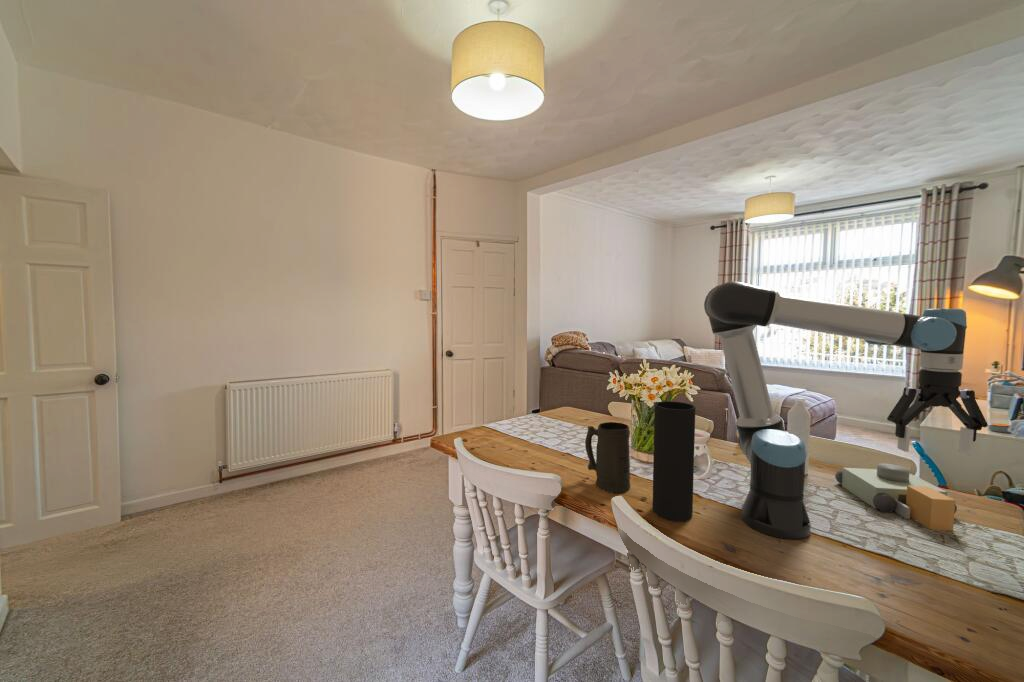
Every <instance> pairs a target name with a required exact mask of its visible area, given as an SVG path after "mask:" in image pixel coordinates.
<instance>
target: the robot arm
mask: <svg viewBox="0 0 1024 682" xmlns="http://www.w3.org/2000/svg"><path fill="white" fill-rule="evenodd" d="M703 307H704V311H705V314H706V316H707V317H708V320H709V323H710V327H711V331H712V334H713V335H714V336H716V337H718V338H719V340H720V344H721V347H722V351H723V356H724V358H725V359H724V360H725V363H726V367H727V371H728V375H729V379H730V382H731V383H730V384H731V387H732V391H733V395H734V399H735V402H736V403H735V404H736V406H737V410H738V413H739V417H738V418H737V419H736V421H735V424H736V425H735V426H736V429H737V434H738V445H739V448H740V450H741V452H742V454H744V456H745V457H746V459H747V461H748V462H749V464H750V479H749V481H750V483H749V491H748V493H747V496H746V497H745V499H744V502H743V504H742V507H741V513H740V514H741V515H740V516H741V519H742V521H743V522H744V523H745V524H746V525H747V526H749V527H750V528H752V529H754V530H755V531H758V532H760V533H763V534H765V535H768V536H772V537H775V538H780V539H788V540H800V539H801V540H802V539H806V538H807V537H809V536H810V534H811V527H812V526H811V525H812V524H811V521H810V517H809V514H808V511H807V508H806V505H805V502H804V490H805V460H806V451H805V444H804V442H803V441H802V440H801V439H800V438H799V437H797V436H796V435H794V434H790V433H788V432H787V431H785V427H784V424H783V420H782V417H781V415H778V414H776V413H775V412H774V409H773V406H772V402H771V397H770V394H769V390H768V387H767V386H768V385H767V383H766V382H767V381H766V379H765V374H764V370H763V366H762V363H761V359H760V355H759V351H758V347H757V344H756V340H755V336H754V330H755V328H756V327H757V326H759V327H768V326H770V325H777V326H784V327H789V328H793V329H800V330H807V331H812V332H818V333H823V334H830V335H835V336H841V337H847V338H854V339H859V340H863V341H865V343H867V344H869V345H877V346H895V347H900V348H902V347H903V348H908V349H909V348H910V349H915V350H920V355H919V364H918V366H919V367H920V370H919V371H918V380H917V382H918V384H919V386H918V388H915V387H914V388H913V387H909V386H905V387H903V392H902V395H901V397H900V398H899V400H898V401H897V403H896V404H895V406H894V407H893V408H892V410H891V412H890V413H889V414H888V416H887V418H886V419H887V421H888V422H891V423H894V424H895V430H894V431H895V433H894V434H895V437H897V446H896V447H897V449H899V450H900V451H902V452H906V453H909V451H910V438H911V426H908V424H910V422H912V421H913V420H914V419H915V418H916V417H918V416H919V415H920V414H921V413H922V412H923V411H925V410H926V409H928V408H930V407H936V408H937V407H943V408H949V410H950V411H951V412H952V413H953V415H954V416H956V418H957V419H958V420H959V421H960V423H962V425H963V426H960V430H959V441H958V452H959V453H962V454H964V455H965V456H972V455H973V444H974V443H973V442H976V440H977V431H981V430H982V428H987V427H988V425H989V424H988V422H987V420H986V418H985V416H984V415H983V412H982V410H981V408H980V406H979V404H978V402H977V400H976V394H975V392H976V391H975V390H973V389H969V388H961V389H960V387H961V386H962V380H963V379H962V378H963V373H962V372H961V370H963V364H964V352H965V341H966V332H967V331H966V330H967V328H968V325H967V323H968V322H967V312H966V311H965V310H964V309H962V308H925V310H923V313H922V315H917V314H910V313H902V312H897V311H892V310H891V311H890V310H885V309H877V308H871V307H865V306H858V305H851V304H846V303H845V304H844V303H838V302H831V301H827V300H826V301H825V300H818V299H813V298H806V297H798V296H791V295H786V294H780V293H779V292H778V291H777V290H776V289H773V288H767V287H762V286H757V285H753V284H749V283H746V282H742V281H726V282H724V283H721V284H718V285H716V286H715V287H713V288H711V290H709V291H708V293H707V295H706V296H705V299H704V304H703ZM916 397H917V398H916ZM958 398H960V400H961V402H962V403H963V406H964V408H963V407H962V404H961V403H960V401H958Z"/></svg>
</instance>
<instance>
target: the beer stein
mask: <svg viewBox="0 0 1024 682" xmlns="http://www.w3.org/2000/svg"><path fill="white" fill-rule="evenodd" d="M630 435H631V430H630V427H629V425H627V424H626V423H623V422H617V421H615V422H613V421H608V422H603V423H600V424H598V425H597V428H595V426H594V425H588V426H587V434H586V437H585V439H584V440H585V441H584V444H585V450H586V455H587V459H588V461H589V463H588V465H587V469H588V471H592V470H593V471H595V473H596V474H595V476H596V479H595V486H596V487H597V488H598V489H599V490H601V491H603V490H604V491H603V492H606V491H608V492H607V493H611V492H615V493H614V494H623V493H626V492H628V491H629V490H630V489H631V470H630V469H631V459H630V457H631V456H630V454H631V453H630ZM594 436H597V441H596V447H595V449H596V451H595V452H596V454H595V455H596V458H595V456H594V451H593V445H592V442H593V441H592V439H593V437H594ZM622 492H623V493H622Z"/></svg>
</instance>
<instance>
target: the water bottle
mask: <svg viewBox="0 0 1024 682" xmlns="http://www.w3.org/2000/svg"><path fill="white" fill-rule="evenodd" d="M805 402H806V398H805V397H801V396H799V397H796V400H795V402H794V403H795V404H794V405H793V406H792V407H791V408H790V409H789V410H788V412H787V423H786V424H787V426H786V428H787V430H786V432H788V433H790V434H794V435H796V436H797V437H799V438H800V439H801V440H802V441H803V442H804V444H805V451H806V460H805V475H808V474H809V464H810V463H809V461H810V460H809V459H810V454H809V453H810V442H811V438H810V436H811V435H810V434H811V418H812V416H811V413H810V411H809V410H808V408H807V407H806V405H805ZM805 475H804V476H805Z"/></svg>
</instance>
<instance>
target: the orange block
mask: <svg viewBox="0 0 1024 682" xmlns="http://www.w3.org/2000/svg"><path fill="white" fill-rule="evenodd" d="M955 504H956V499H954V498H951V497H950V496H948V495H947V496H946V495H944V494H942V493H940V492H938V491H936V490H934V489H932V488H930V487H923V486H907V495H906V506H908V507H910V518H911V517H912V518H911V519H913V520H914V519H915V520H914V521H916V520H917V521H916V522H917V523H919V522H920V523H919V524H921V525H922V524H923V525H922V526H924V525H925V526H924V527H926V528H927V527H928V528H927V529H929V530H933V529H938V530H937V531H947V530H953V531H954V523H955V514H954V510H955Z"/></svg>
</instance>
